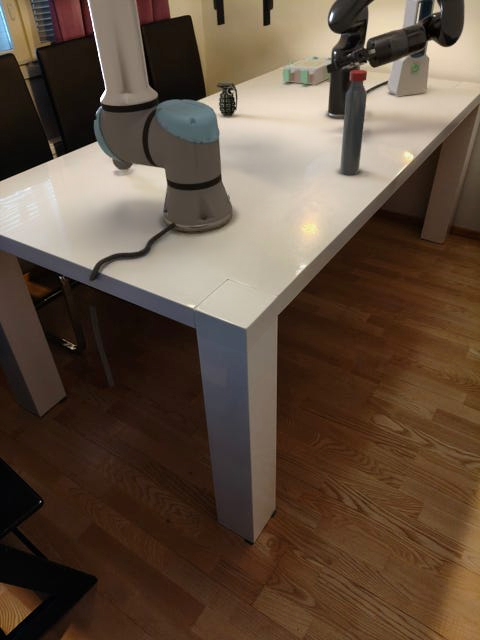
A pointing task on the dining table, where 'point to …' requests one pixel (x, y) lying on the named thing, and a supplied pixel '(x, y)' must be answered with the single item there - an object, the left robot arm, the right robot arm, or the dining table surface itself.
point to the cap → (358, 75)
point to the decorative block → (307, 71)
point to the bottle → (353, 128)
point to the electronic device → (412, 56)
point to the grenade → (227, 99)
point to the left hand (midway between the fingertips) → (243, 25)
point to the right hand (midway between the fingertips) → (331, 67)
